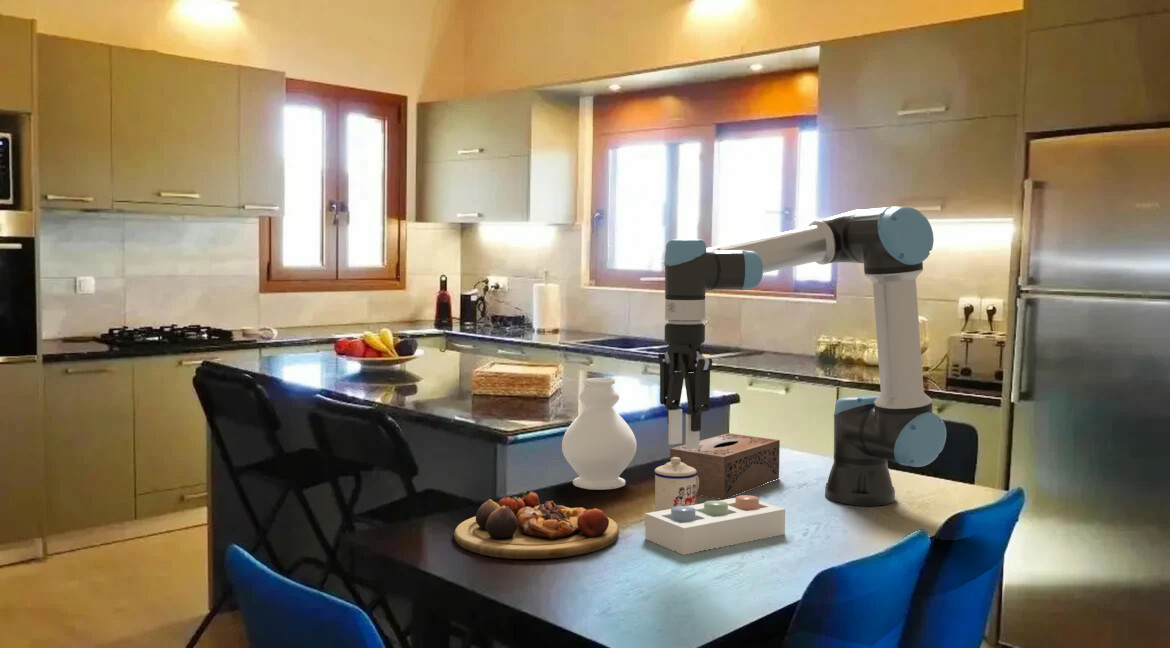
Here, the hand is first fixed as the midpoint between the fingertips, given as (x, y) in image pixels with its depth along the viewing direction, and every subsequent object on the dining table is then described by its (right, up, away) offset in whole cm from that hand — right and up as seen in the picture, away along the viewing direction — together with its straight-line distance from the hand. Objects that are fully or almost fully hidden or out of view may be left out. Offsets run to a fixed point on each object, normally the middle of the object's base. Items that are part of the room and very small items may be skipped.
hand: (683, 445), depth 182 cm
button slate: (0, -16, +1) cm, 16 cm away
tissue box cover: (+15, -16, +49) cm, 53 cm away
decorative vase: (-15, -16, +50) cm, 54 cm away
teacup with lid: (+2, -17, +25) cm, 30 cm away
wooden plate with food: (-28, -19, +6) cm, 34 cm away
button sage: (+7, -16, +5) cm, 18 cm away
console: (+7, -18, +6) cm, 20 cm away
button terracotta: (+14, -16, +10) cm, 23 cm away
